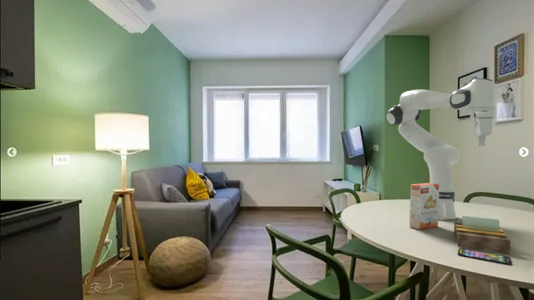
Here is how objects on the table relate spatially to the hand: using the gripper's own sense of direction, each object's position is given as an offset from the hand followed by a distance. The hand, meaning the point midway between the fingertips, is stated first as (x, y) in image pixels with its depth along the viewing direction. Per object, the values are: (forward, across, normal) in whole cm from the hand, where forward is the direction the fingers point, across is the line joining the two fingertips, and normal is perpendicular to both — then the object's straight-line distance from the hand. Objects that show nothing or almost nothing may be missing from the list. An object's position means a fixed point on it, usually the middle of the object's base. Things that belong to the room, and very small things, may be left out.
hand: (481, 146), depth 129 cm
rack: (+39, +14, -2) cm, 42 cm away
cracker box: (+39, 0, -22) cm, 45 cm away
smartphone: (+40, +32, -3) cm, 51 cm away
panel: (+38, +14, -2) cm, 41 cm away
